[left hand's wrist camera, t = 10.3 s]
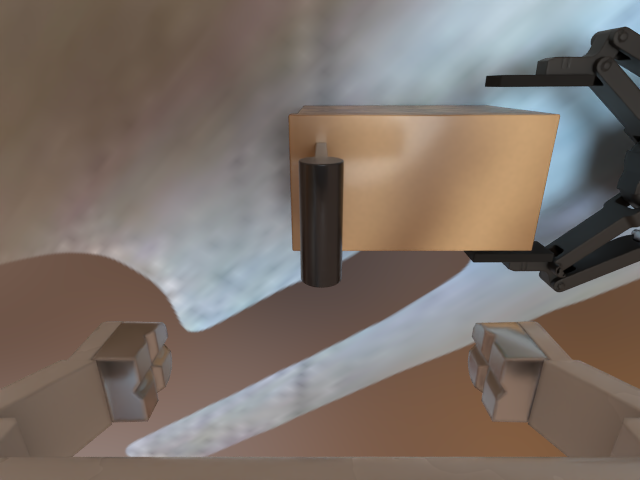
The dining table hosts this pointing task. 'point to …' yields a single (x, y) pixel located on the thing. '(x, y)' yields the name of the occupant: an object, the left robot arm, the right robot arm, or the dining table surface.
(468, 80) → the dining table surface
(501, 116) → the lid
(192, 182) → the dining table surface
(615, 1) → the dining table surface
